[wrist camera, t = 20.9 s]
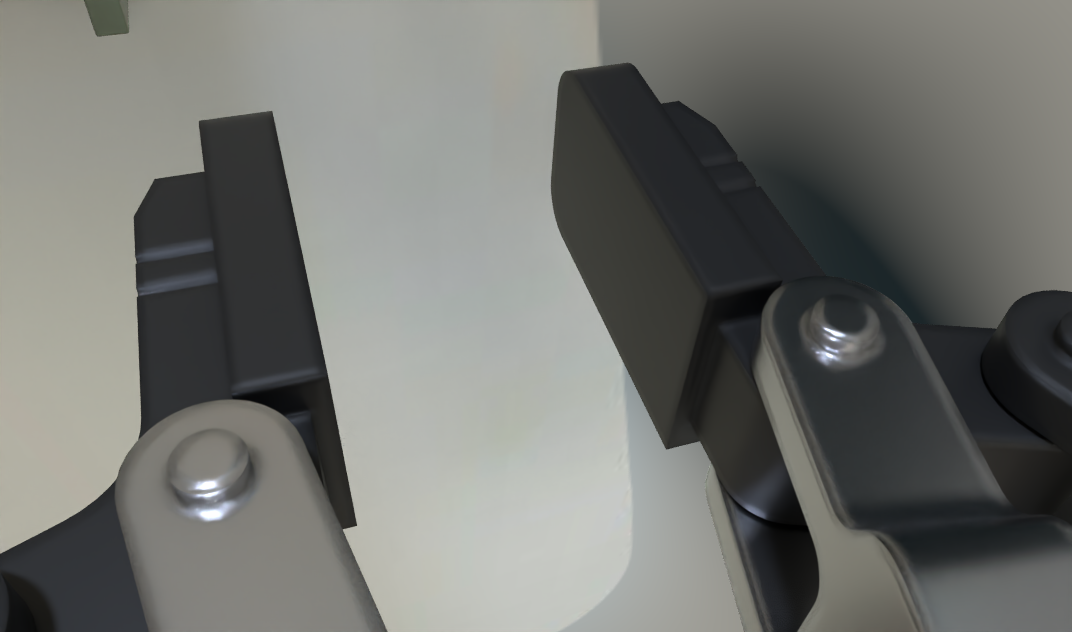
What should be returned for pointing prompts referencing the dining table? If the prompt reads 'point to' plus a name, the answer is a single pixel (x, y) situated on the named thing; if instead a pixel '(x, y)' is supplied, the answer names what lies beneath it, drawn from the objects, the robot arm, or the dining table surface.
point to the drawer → (108, 16)
